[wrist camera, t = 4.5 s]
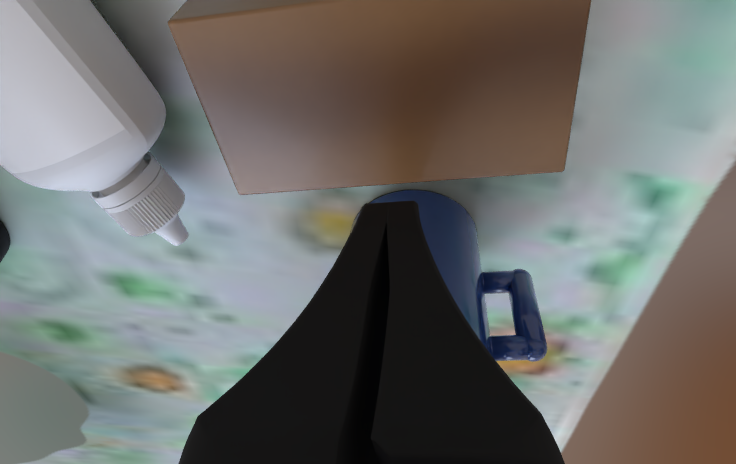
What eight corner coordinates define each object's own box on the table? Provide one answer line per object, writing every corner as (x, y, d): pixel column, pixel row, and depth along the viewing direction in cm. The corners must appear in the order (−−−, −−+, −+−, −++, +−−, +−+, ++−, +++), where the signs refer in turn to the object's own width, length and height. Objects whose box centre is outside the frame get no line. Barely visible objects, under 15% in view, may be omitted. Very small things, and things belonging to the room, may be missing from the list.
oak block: (537, 96, 16) (565, 173, 13) (267, 122, 17) (238, 196, 14) (555, -84, 12) (598, -35, 10) (216, -35, 14) (165, 21, 11)
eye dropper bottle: (-317, -40, 10) (114, 314, 17) (-61, -179, 10) (254, 228, 17) (-199, -53, 13) (118, 247, 21) (-10, -156, 13) (235, 177, 21)
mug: (511, 199, 22) (530, 433, 21) (357, 210, 23) (368, 433, 22) (557, 137, 13) (596, 553, 12) (297, 161, 14) (309, 543, 13)
